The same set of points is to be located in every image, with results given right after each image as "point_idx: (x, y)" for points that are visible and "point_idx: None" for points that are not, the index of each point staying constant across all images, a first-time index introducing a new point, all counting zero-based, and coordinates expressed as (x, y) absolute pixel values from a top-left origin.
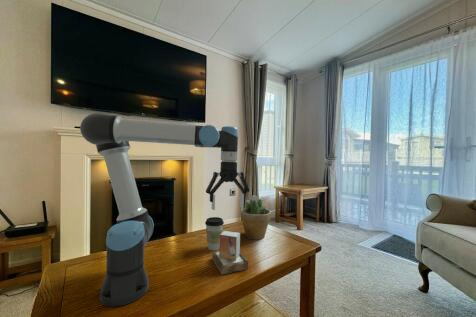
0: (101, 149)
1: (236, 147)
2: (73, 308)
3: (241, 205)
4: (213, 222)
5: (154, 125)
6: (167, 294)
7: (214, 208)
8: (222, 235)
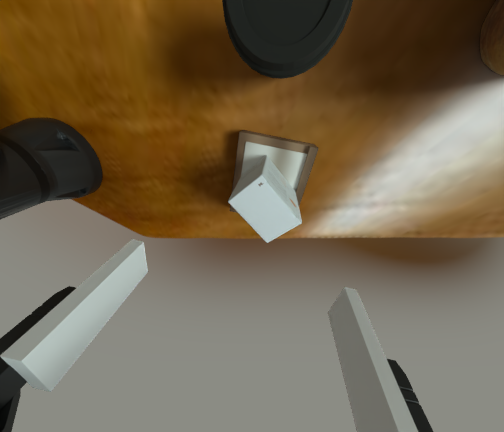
0: None
1: None
2: None
3: (335, 320)
4: (252, 54)
5: None
6: (136, 203)
7: (139, 278)
8: (234, 208)
